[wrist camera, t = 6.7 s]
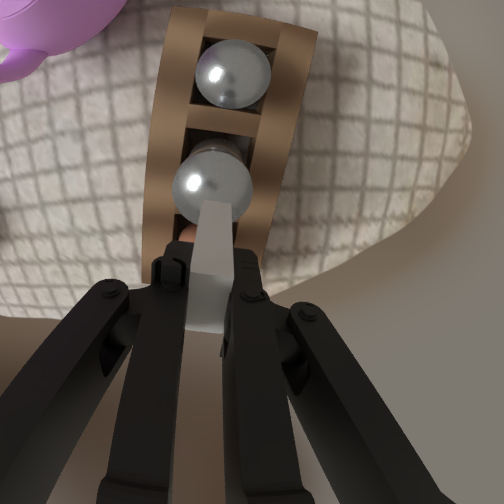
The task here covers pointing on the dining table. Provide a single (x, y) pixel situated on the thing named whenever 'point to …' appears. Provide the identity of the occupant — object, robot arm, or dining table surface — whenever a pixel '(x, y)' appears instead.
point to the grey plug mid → (212, 179)
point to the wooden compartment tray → (222, 120)
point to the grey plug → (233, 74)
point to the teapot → (48, 30)
